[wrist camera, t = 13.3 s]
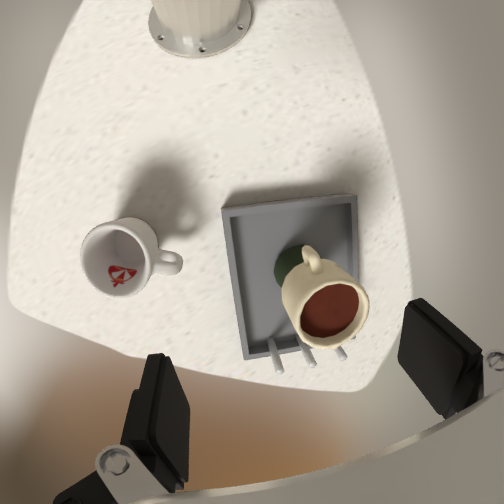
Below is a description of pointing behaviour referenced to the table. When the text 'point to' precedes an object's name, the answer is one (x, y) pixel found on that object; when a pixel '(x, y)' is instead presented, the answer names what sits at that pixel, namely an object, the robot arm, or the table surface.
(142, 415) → the robot arm
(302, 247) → the character mug
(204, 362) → the table surface
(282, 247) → the dish rack
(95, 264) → the cup
